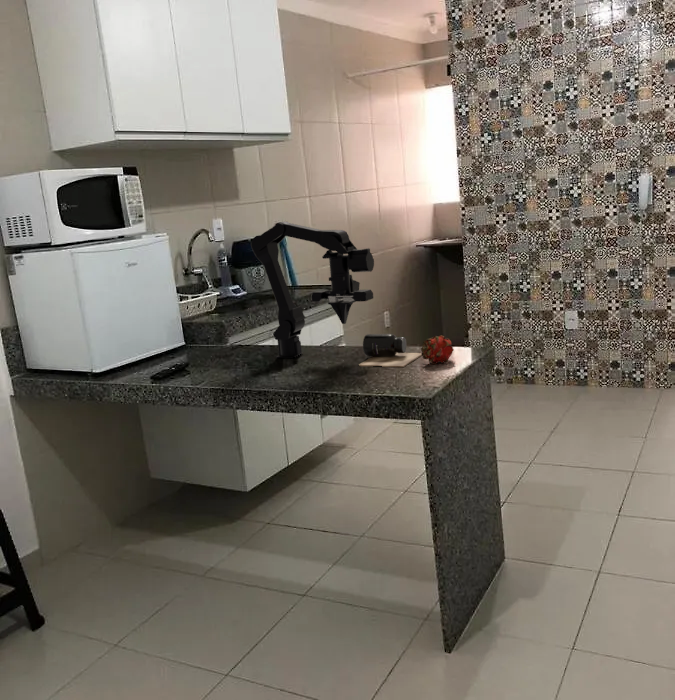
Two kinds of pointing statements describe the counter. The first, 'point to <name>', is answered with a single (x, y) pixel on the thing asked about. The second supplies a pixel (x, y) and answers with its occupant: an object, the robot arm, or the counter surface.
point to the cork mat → (392, 360)
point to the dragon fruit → (437, 349)
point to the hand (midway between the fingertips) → (344, 323)
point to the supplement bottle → (383, 345)
